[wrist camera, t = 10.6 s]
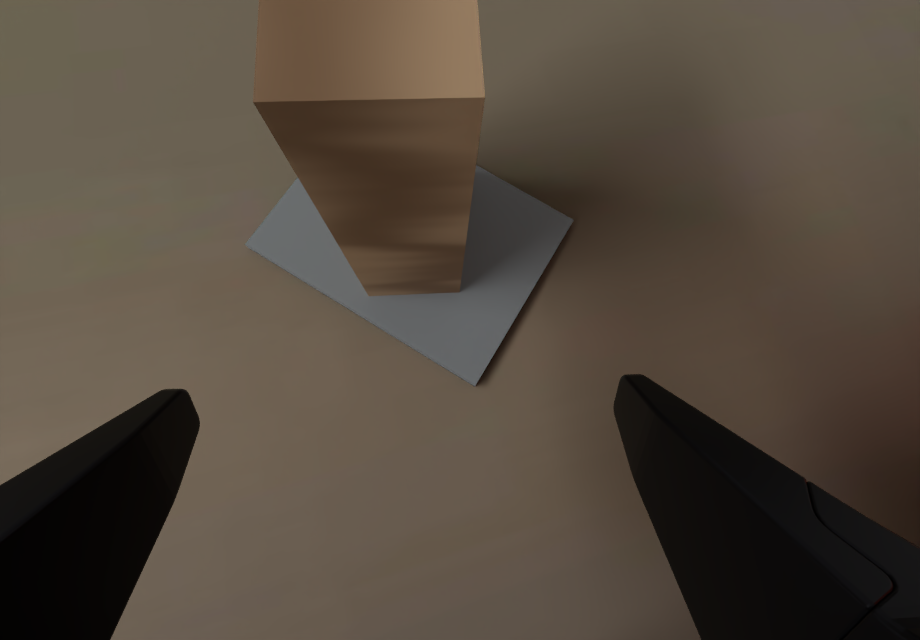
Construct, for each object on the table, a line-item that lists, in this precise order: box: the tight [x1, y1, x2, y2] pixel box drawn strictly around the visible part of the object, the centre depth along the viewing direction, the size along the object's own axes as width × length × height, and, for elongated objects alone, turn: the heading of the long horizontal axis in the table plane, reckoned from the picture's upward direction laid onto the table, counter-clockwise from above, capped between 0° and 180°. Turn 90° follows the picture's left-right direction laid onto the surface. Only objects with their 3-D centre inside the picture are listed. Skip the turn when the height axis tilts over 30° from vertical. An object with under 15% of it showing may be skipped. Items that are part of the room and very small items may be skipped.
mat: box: [245, 165, 574, 387], centre depth 20 cm, size 12×9×1 cm
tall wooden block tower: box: [253, 0, 485, 296], centre depth 14 cm, size 4×6×12 cm, turn 3°
